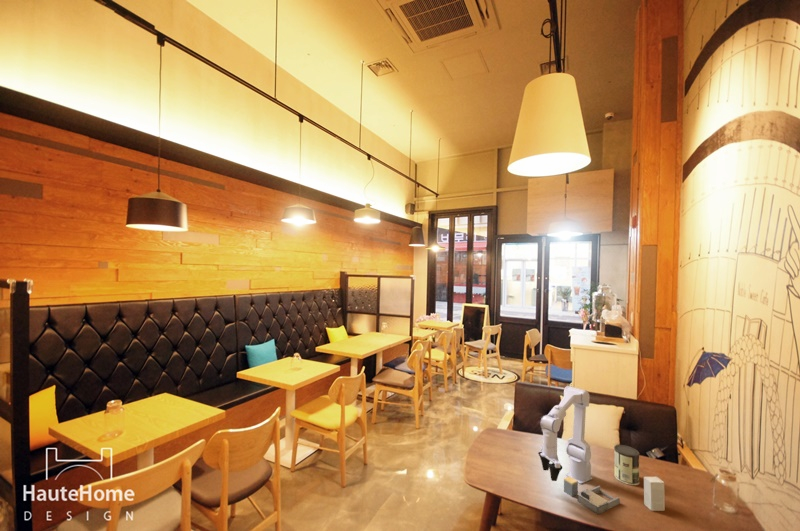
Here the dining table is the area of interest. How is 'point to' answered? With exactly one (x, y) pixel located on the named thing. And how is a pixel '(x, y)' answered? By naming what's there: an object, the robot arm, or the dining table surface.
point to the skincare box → (654, 494)
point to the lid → (592, 498)
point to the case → (604, 507)
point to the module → (570, 486)
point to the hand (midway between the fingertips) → (549, 475)
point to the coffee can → (626, 464)
